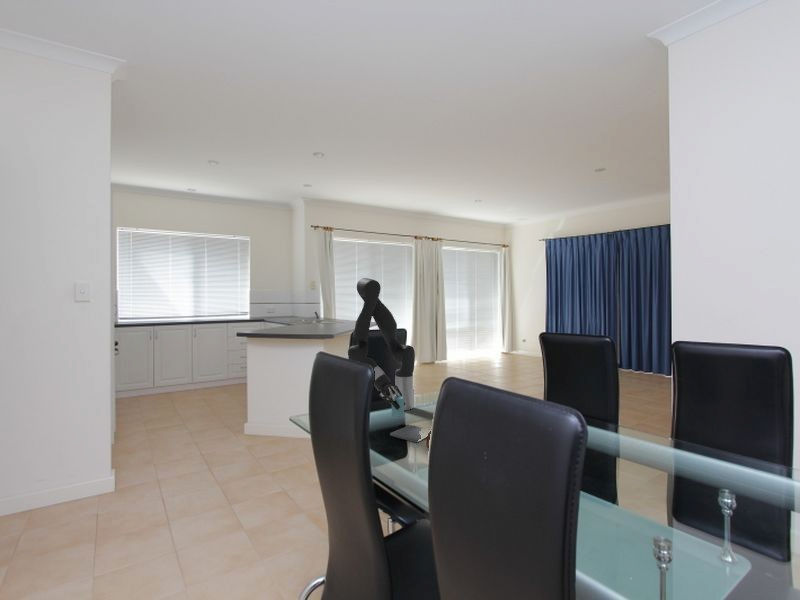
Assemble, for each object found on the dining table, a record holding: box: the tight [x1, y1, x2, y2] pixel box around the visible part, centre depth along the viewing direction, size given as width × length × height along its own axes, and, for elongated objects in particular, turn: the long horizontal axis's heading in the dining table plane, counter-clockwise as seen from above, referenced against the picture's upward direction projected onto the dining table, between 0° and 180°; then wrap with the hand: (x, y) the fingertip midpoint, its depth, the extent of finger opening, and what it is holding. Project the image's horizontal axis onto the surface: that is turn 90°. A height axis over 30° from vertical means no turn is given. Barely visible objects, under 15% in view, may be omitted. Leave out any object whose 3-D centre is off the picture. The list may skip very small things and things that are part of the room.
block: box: [391, 397, 405, 418], centre depth 191 cm, size 4×4×8 cm
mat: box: [389, 424, 423, 442], centre depth 176 cm, size 14×14×1 cm
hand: (401, 406), depth 190 cm, fingers closed on block, 4 cm apart
